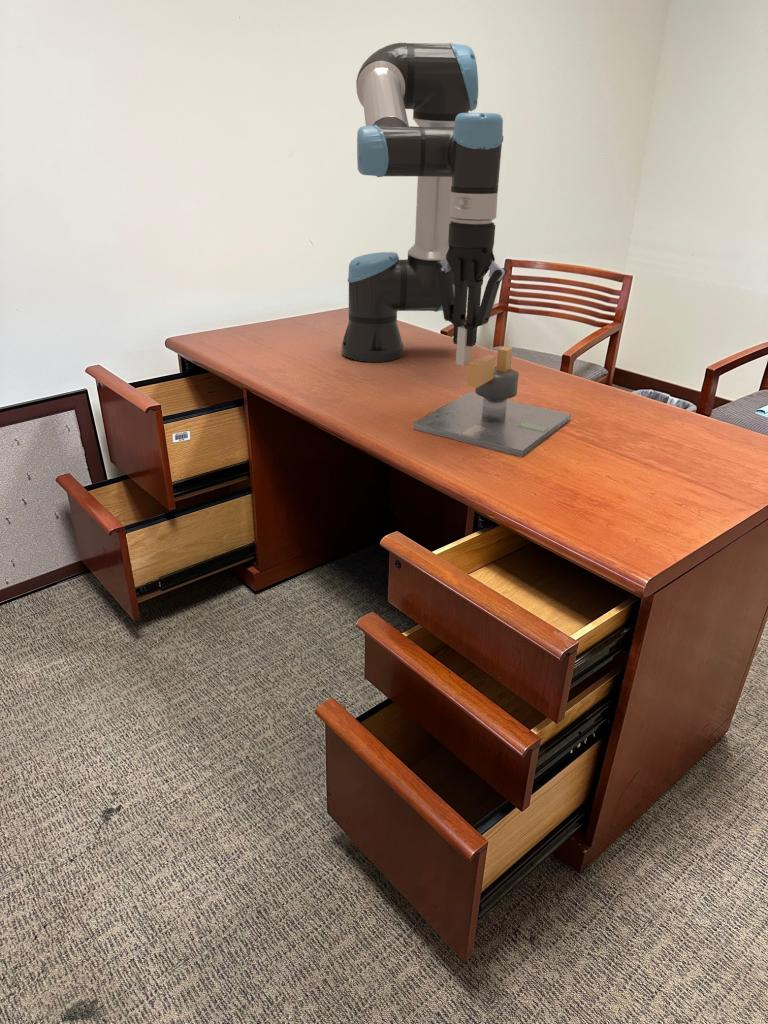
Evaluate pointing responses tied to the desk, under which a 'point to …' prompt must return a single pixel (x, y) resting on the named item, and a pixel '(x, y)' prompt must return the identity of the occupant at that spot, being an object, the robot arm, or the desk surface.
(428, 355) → the desk surface
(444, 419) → the post plate
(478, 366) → the cap
